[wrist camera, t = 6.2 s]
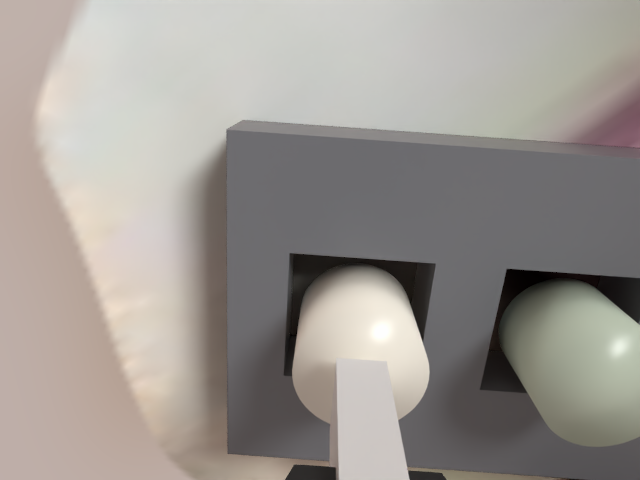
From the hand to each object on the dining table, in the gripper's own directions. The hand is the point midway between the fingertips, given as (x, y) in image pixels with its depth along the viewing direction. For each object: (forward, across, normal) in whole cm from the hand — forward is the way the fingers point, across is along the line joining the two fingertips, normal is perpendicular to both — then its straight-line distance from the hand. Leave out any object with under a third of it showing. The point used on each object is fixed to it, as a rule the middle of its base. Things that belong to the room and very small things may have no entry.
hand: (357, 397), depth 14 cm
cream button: (+5, 0, 0) cm, 5 cm away
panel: (+7, +8, 0) cm, 11 cm away
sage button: (+5, +8, 0) cm, 10 cm away
